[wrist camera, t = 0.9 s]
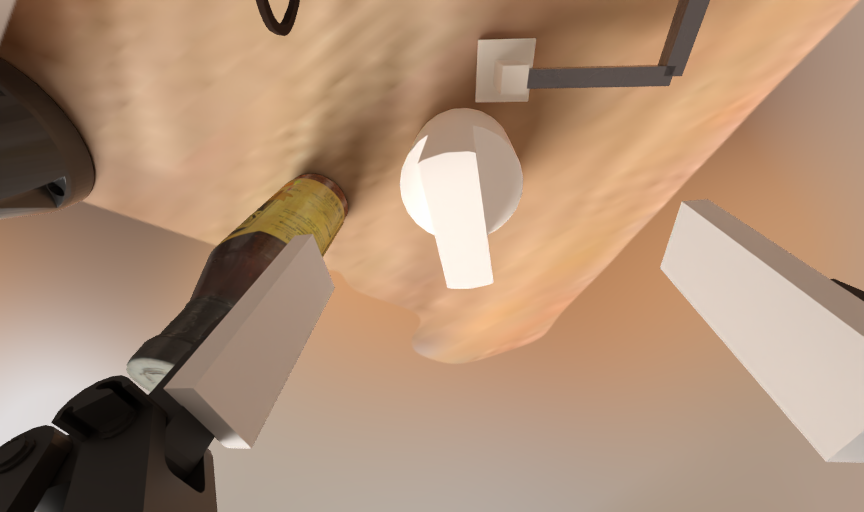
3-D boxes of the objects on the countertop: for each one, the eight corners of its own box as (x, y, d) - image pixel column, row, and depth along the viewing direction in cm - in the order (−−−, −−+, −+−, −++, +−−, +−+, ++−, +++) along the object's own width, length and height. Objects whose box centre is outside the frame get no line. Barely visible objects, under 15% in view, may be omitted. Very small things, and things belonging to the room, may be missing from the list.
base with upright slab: (399, 120, 26) (361, 169, 17) (508, 96, 25) (538, 134, 15) (423, 214, 31) (405, 295, 21) (515, 200, 30) (541, 280, 20)
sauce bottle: (293, 160, 29) (77, 313, 13) (357, 186, 30) (232, 361, 14) (284, 216, 33) (107, 393, 16) (342, 239, 34) (229, 426, 17)
